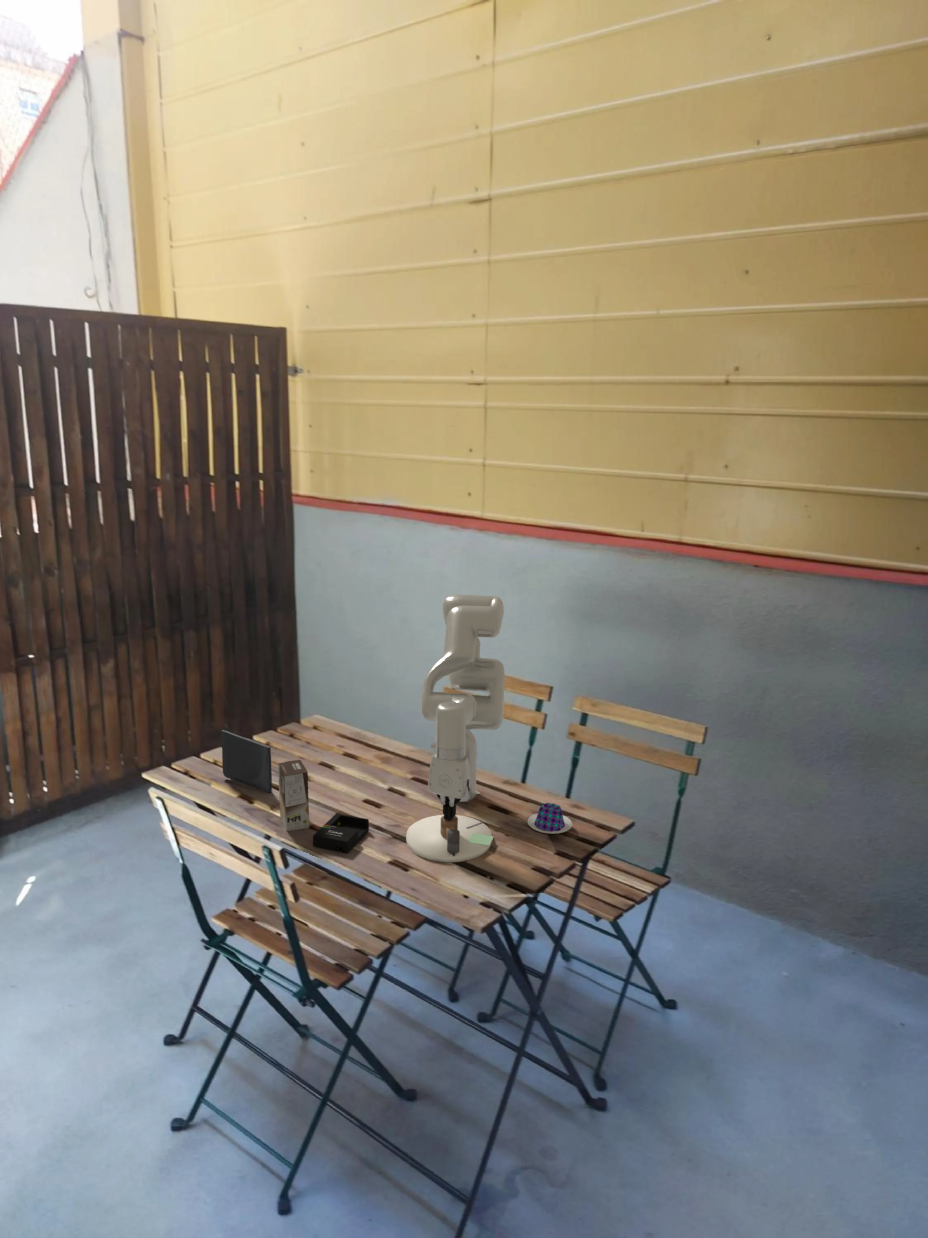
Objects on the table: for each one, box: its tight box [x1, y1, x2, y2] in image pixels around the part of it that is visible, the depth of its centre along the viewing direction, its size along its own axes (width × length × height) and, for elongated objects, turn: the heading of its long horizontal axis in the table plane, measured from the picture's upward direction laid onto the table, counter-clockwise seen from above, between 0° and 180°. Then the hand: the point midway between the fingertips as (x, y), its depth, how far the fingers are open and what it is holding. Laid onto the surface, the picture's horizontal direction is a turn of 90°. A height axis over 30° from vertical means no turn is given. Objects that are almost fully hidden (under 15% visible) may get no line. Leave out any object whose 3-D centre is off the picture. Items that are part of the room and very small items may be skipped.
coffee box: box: [277, 759, 310, 832], centre depth 219 cm, size 9×6×16 cm
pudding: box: [527, 802, 573, 835], centre depth 223 cm, size 12×12×5 cm
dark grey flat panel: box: [221, 729, 273, 794], centre depth 241 cm, size 20×2×15 cm, turn 57°
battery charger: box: [312, 812, 370, 855], centre depth 213 cm, size 13×10×4 cm
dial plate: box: [405, 814, 495, 863], centre depth 214 cm, size 22×22×2 cm
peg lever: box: [441, 816, 460, 853], centre depth 209 cm, size 13×4×5 cm, turn 8°
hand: (449, 817), depth 212 cm, fingers closed
